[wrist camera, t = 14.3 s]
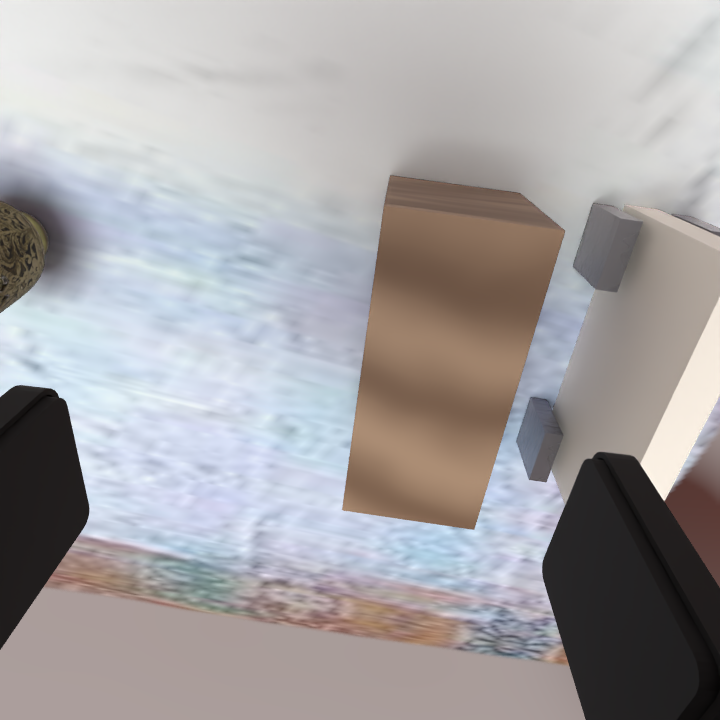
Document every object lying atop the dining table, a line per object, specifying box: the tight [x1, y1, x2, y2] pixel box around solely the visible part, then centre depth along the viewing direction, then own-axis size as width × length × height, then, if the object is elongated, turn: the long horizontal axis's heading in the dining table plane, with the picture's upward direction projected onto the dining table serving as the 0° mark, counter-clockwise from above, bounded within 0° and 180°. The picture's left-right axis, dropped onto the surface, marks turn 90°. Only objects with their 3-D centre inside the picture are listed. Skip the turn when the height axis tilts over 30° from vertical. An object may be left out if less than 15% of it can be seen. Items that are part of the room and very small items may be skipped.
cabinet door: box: [551, 205, 720, 505], centre depth 30 cm, size 18×3×12 cm, turn 173°
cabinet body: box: [342, 175, 565, 530], centre depth 31 cm, size 18×8×10 cm, turn 173°
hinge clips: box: [517, 203, 720, 482], centre depth 33 cm, size 18×6×4 cm, turn 173°
